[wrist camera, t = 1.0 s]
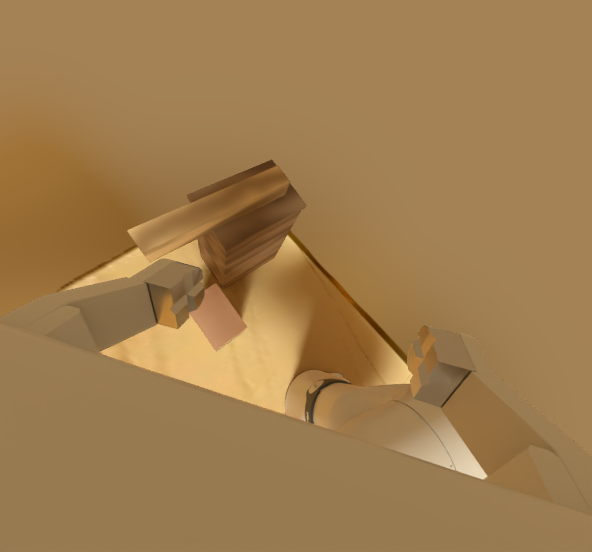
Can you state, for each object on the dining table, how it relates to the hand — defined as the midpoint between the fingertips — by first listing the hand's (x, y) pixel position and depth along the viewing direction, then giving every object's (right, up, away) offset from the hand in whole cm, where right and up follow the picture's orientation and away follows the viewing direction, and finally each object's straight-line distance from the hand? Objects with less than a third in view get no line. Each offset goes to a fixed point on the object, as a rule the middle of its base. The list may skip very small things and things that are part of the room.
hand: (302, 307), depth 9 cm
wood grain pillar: (-15, +6, +56) cm, 58 cm away
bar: (-12, +11, +30) cm, 34 cm away
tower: (-19, -11, +49) cm, 54 cm away
